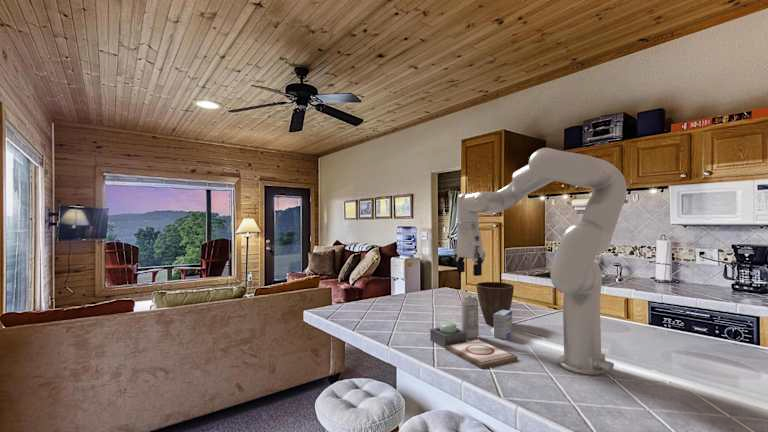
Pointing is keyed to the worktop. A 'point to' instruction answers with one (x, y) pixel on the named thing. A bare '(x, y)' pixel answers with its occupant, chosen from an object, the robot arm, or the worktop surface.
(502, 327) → the medicine box
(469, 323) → the energy drink can
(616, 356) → the worktop surface
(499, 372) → the worktop surface
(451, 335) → the button housing
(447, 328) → the button
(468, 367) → the worktop surface
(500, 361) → the sketch board
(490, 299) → the plant pot
